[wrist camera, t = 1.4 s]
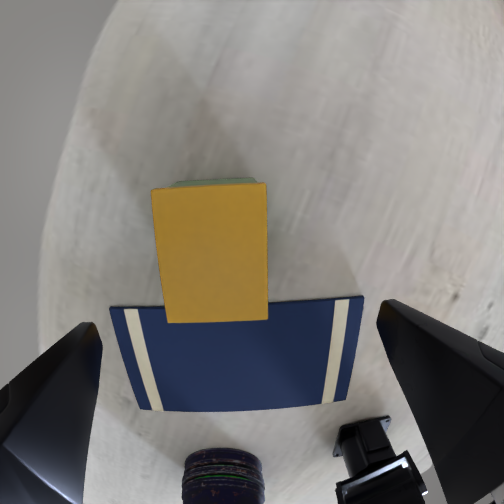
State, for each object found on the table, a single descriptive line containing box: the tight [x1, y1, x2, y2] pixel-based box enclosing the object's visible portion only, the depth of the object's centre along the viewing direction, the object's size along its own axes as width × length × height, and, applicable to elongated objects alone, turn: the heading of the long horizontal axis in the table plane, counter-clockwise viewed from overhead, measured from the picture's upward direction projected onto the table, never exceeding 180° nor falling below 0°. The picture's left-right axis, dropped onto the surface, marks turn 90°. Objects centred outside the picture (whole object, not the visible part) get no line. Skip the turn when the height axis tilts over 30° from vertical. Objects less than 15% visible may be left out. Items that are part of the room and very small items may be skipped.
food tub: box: [151, 178, 268, 323], centre depth 19 cm, size 8×6×6 cm
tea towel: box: [109, 296, 364, 412], centre depth 26 cm, size 12×21×1 cm, turn 92°
